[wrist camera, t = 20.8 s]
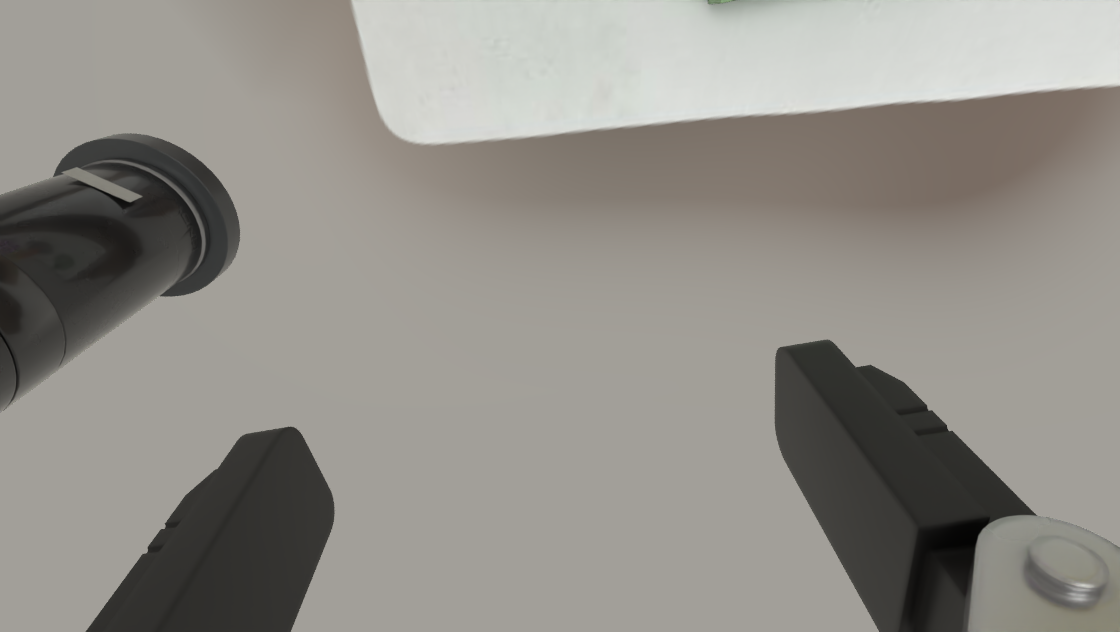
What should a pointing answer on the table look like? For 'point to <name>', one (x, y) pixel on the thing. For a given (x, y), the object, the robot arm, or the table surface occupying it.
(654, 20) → the table surface
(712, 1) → the green tray
